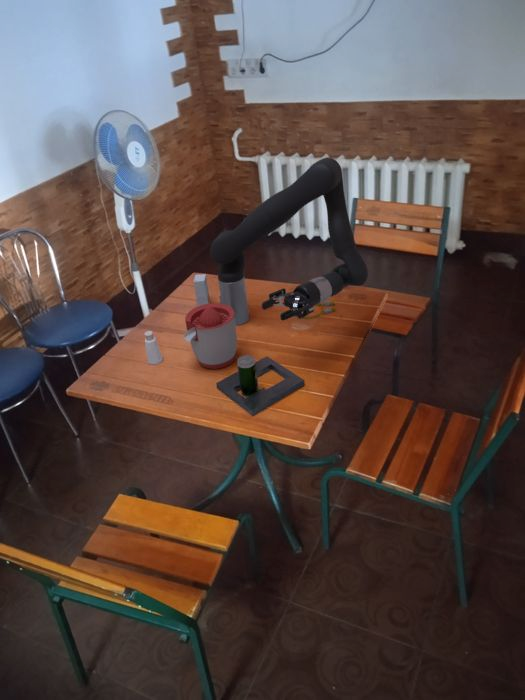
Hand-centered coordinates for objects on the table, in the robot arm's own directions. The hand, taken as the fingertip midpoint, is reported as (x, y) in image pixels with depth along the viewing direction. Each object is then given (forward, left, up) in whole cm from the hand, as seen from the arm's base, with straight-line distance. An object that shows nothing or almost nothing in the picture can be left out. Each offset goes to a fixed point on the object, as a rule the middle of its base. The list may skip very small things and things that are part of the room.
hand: (271, 312), depth 161 cm
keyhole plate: (-1, -7, -23) cm, 24 cm away
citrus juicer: (-23, -7, -24) cm, 33 cm away
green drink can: (-1, -11, -24) cm, 26 cm away
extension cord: (-18, +37, -24) cm, 48 cm away
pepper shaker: (-39, -20, -24) cm, 49 cm away
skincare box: (-55, +14, -24) cm, 61 cm away
